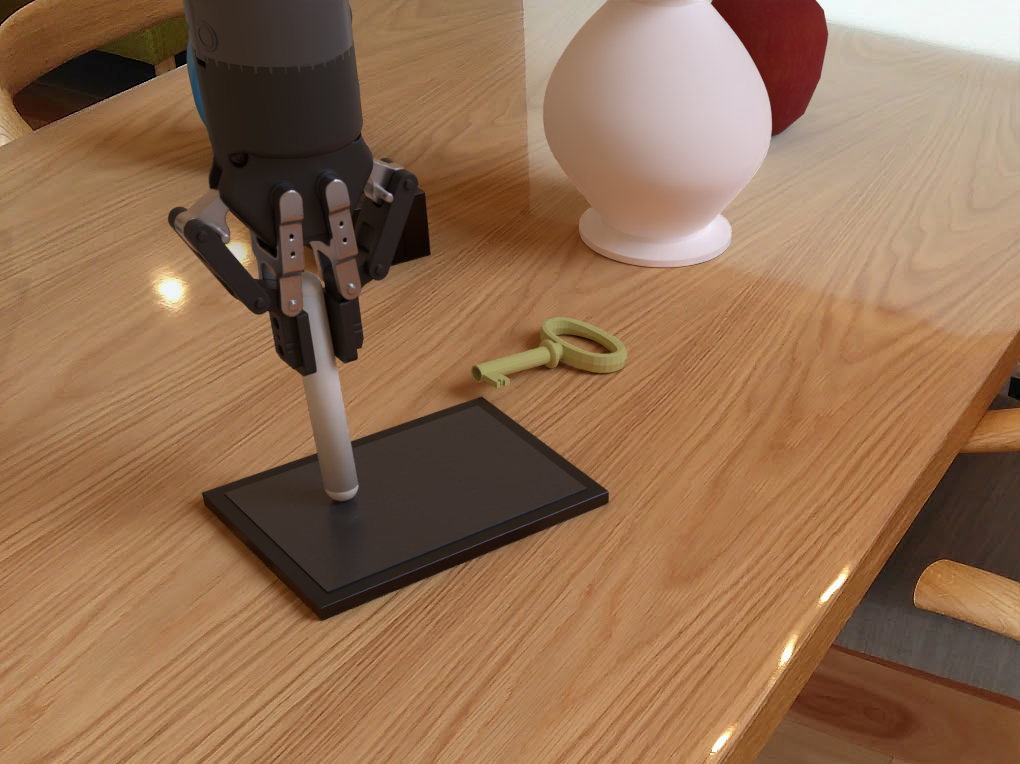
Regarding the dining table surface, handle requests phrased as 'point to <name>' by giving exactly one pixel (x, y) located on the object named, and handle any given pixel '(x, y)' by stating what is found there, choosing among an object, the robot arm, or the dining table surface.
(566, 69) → the decorative vase
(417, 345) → the dining table surface
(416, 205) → the holder
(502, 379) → the key
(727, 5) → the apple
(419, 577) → the tablet
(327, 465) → the stylus
